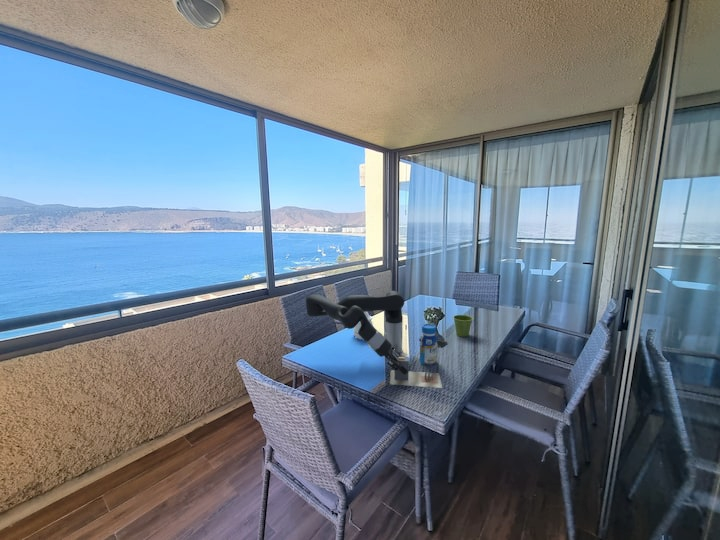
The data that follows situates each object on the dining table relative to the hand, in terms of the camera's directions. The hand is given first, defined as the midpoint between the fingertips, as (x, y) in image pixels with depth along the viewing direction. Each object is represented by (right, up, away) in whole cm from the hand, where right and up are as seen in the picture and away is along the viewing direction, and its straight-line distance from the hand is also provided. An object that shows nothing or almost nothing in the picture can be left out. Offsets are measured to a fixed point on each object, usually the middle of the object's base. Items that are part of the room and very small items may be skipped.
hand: (406, 370), depth 128 cm
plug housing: (-2, -3, +1) cm, 4 cm away
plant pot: (+44, +4, +53) cm, 69 cm away
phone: (+23, +1, +43) cm, 48 cm away
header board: (+4, -5, 0) cm, 6 cm away
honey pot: (-18, +3, +53) cm, 57 cm away
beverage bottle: (+14, -3, +16) cm, 21 cm away
